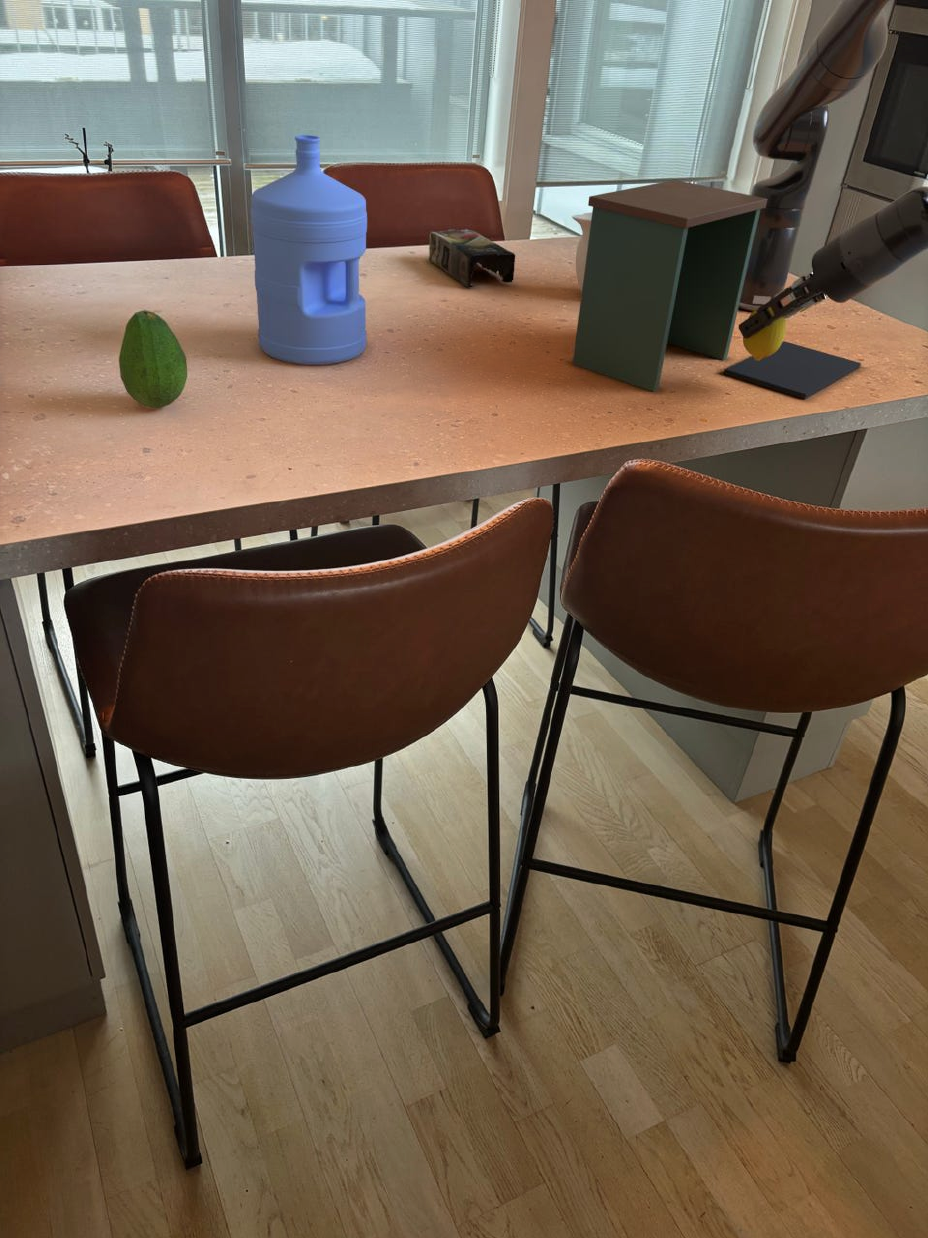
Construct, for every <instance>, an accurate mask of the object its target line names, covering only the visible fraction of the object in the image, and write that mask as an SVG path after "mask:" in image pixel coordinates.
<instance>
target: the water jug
mask: <svg viewBox="0 0 928 1238" xmlns="http://www.w3.org/2000/svg"><path fill="white" fill-rule="evenodd" d="M294 140H295V142H296V149H295V150H294V151H295V157H296V159H295V160H296V165H295V169H294V170H293V171H291V172H290V173H288V174H285V175H284V176H282V177H280V178H277V179H276V180H273V181H271V182H269V183H268V184H266V185H263V186H262V187H260V188H259V187H258V188H257V189H255V190H254V191H253V192H252V194H251V197H250V199H251V200H250V202H251V203H250V204H251V207H250V223H251V228H252V236H253V252H254V253H253V255H254V256H253V257H254V285H255V286H254V287H255V290H256V305H257V321H258V329H257V337H258V338H257V339H258V345H259V347H260V349H261V350H262V351H263V352H264V353H265V354H266V355H268V356H269V357H271V358H274V359H277V360H279V361H283V362H285V363H290V364H295V365H296V364H297V365H309V366H320V365H321V366H322V365H324V366H325V365H333V364H334V365H335V364H340V363H344V362H348V361H350V360H353V359H355V358H357V357H359V356H360V355H361V354H362V353H364V351H365V349H366V348H367V344H368V343H367V342H368V341H367V338H368V337H367V335H368V334H367V330H366V329H367V328H366V324H367V323H366V321H367V319H366V317H367V315H366V314H367V313H366V311H367V309H366V306H367V302H366V299H365V298H364V296H363V295H361V294H360V259H361V257H362V256H363V255H364V254H365V252H366V251H367V231H368V213H367V201H366V198H365V196H363V194H361V193H360V192H358V191H356V190H354V189H353V188H350V187H349V186H347V185H346V184H344V183H342V182H340V181H338V180H337V179H335V178H333V177H331V176H330V175H327V174H326V173H324V172H323V171H322V169H321V166H320V162H321V161H320V157H321V151H320V149H319V143H320V141H321V138H320V137H319V136H317V135H308V134H300V135H295V136H294Z"/></svg>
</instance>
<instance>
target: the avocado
mask: <svg viewBox="0 0 928 1238" xmlns="http://www.w3.org/2000/svg"><path fill="white" fill-rule="evenodd" d="M118 366H119V367H118V368H119V374H120V380H121V382H122V384H123V386H124V388H125V391H126V392H127V394H128V395H129V396H130V397H131V398H132V399H133V400H134V401H135V402H136V403H137V404H139V405H140V406H142V407H145V408H148V409H162V408H165V407H167V406H170V405H171V404H173V402H174V401H176V400H177V399H178V398H179V397H180V396H181V395H182V392H183V391H184V389H185V387H186V383H187V379H188V363H187V357H186V354H185V352H184V349H183V348H182V345H181V344H180V341H179V340H178V338H177V336H176V335H175V333H174V332H173V330H172V329H171V327H170V325H169V324H168V323H167V322H166V320H165V319H163V318H162V317H161V316H159V315H158V313H155V312H153V311H150V310H146V309H144V310H140V311H137V312H135V313H134V314H133V315H132V316H131V317H130V319H129V320H128V322H127V323H126V327H125V331H124V334H123V339H122V342H121V347H120V351H119V355H118Z"/></svg>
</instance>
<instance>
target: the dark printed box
mask: <svg viewBox="0 0 928 1238" xmlns="http://www.w3.org/2000/svg"><path fill="white" fill-rule="evenodd" d="M428 250H429V251H428V254H429V255H428V261H429V262H430V263H431V264H434V265H435V266H436V267H439V268H440V269H442V270H443V271H445V273H447V274H448V275H449V276H451V277H452V278H453V279H455V280H456V281H458V282H459V283H460V284H462V285H463V286H464V287H466V288H473V287H474V285H471V282H472V279H473V278H472V277H473V274H474V270H475V266H476V265H477V264H478V265H480V266H481V268H482V269H486V270H487V271H491V272H492V273H493V274H495V275H497V274H498V276H499V277H500V278H501V279H502V280H501V281H502V282H504V283H509V284H510V283H513V281H514V276H515V264H516V254H515V253H514V252H512V251H510V250H508V249H506V248H504V247H503V246H501V245H500V244H498V243H496V242H493V241H492V240H490V239H489V238H487V237H485V236H483V235H482V234H480V233H478V232H476V231H475V230H472V229H461V230H460V229H458V228H453V229H448V230H440V231H430V234H429V246H428Z"/></svg>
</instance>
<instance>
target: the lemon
mask: <svg viewBox="0 0 928 1238" xmlns="http://www.w3.org/2000/svg"><path fill="white" fill-rule="evenodd" d="M757 309H758V308H757ZM757 309H756V310H757ZM756 310H755V311H751V313H750V315H749V316H748V318H750V317H751V316H753V315H754V314H756V313H757V312H756ZM769 310H770V312H771V314H772V316H774V313H773V311H772V309H771V308H769ZM786 321H787V320H786V318H784V317H782V318H781V319H779V320H777V321H776V322H774V323H773V324H772V325H771V326H770V325H769V326H766V327H765V328H763V329H762V330H760V331H759V332H757V333H756V334H754V335H752V336H751V337H749V338H747V339H746V338H744V337H743V336H742V343H743V347H744V348H745V350H746V352H747V353H748V354H750V355H751V356H753V357H754V358H755V360H757V361H760V360H761V359H763V358H764V357H768V356H770V355H772V354H774V353H775V352H776V351H777V350H778V349H779V347H780V346H781V344H782V342H783V341H784V339H785V335H786V330H787V329H786V328H787V324H786Z"/></svg>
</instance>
